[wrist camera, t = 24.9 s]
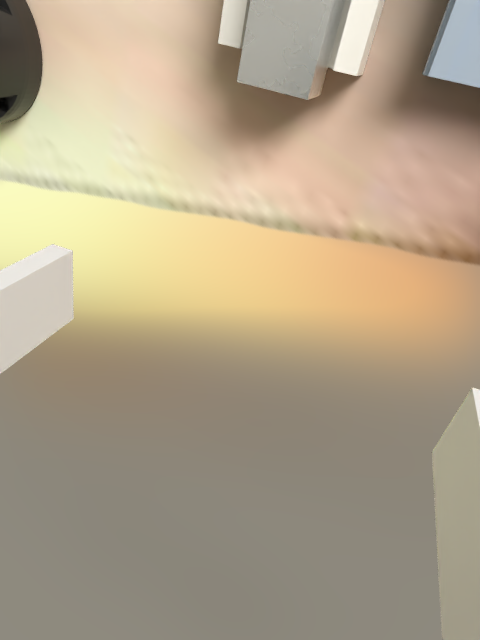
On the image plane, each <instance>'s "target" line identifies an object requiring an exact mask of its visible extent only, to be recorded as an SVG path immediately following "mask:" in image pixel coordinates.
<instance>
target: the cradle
mask: <svg viewBox="0 0 480 640" xmlns="http://www.w3.org/2000/svg"><path fill="white" fill-rule="evenodd" d="M384 2H385V0H345V4H344V8H343V11H342V15H341V19H340V23H339V27H338V30H337V34H336V38H335V42H334V46H333V49H332V53H331V57H330V61H329V65H328V68H332V69H333V71H337V72H341V73H346V74H350V75H354V76H360V75H363V72H364V69H365V66H366V62H367V59H368V56H369V52H370V49H371V46H372V42H373V39H374V36H375V32H376V29H377V26H378V22H379V19H380V16H381V12H382V9H383V6H384ZM249 6H250V0H224V4H223V11H222V18H221V25H220V32H219V39H218V43H219V44H223V45H227V46H232V47H236V48H241V49H242V48H243V42H244V36H245V30H246V24H247V18H248V12H249Z"/></svg>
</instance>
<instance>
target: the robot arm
mask: <svg viewBox="0 0 480 640" xmlns="http://www.w3.org/2000/svg"><path fill="white" fill-rule="evenodd" d="M41 74H42V53H41V45H40V39H39V35H38V31H37V28H36V24H35V21H34V18H33V16H32V13H31V11H30V9H29V7H28V4H27V2H26V1H25V0H0V123H4V122H9V121H13V120H15V119H17V118H19V117H20V116H22V115H23V114H24V113H25V112H26V111H27V110H28V109H29V108H30V106H31V105H32V103H33V102H34V100H35V98H36V95H37V93H38V90H39V86H40V81H41ZM72 319H73V251H72V250H69V249H66V248H63V247H60V246H57V245H54V244H52V245H50V246H48V247H46V248H44V249H42V250H40V251H38V252H36V253H34V254H32V255H30V256H28V257H26V258H24V259H22V260H20V261H18V262H16V263H14V264H12V265H10V266H8V267H6V268H4V269H2V270H0V374H1V373H2V372H3V371H5V370H6V369H7V368H9V367H10V366H11V365H13V364H14V363H15V362H16V361H18V360H19V359H21V358H22V357H23V356H25V355H26V354H27V353H28V352H30V351H31V350H32V349H34V348H35V347H36V346H38V345H39V344H40V343H42V342H43V341H44V340H45V339H47V338H48V337H50V336H51V335H52V334H54V333H55V332H56V331H58V330H59V329H60V328H62V327H63V326H64V325H66V324H67V323H68V322H70V321H71V320H72ZM432 460H433V479H434V498H435V516H436V534H437V553H438V572H439V590H440V609H441V628H442V640H480V390H478V389H475V388H473V387H472V388H471V390H470V392H469V393H468V395H467V397H466V398H465V400H464V401H463V403H462V405H461V406H460V408H459V409H458V411H457V413H456V414H455V416H454V418H453V419H452V421H451V422H450V424H449V425H448V427H447V429H446V430H445V432H444V434H443V435H442V437H441V438H440V440H439V442H438V443H437V445H436V446H435V448H434V450H433V451H432Z"/></svg>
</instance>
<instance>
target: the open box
mask: <svg viewBox="0 0 480 640" xmlns="http://www.w3.org/2000/svg"><path fill="white" fill-rule="evenodd" d="M422 74H423V75H426V76H430V77H434V78H439V79H443V80H448V81H452V82H457V83H461V84H465V85H470V86H474V87H478V88H480V0H449V2H448V4H447V7H446V10H445V13H444V15H443V18H442V21H441V24H440V27H439V29H438V32H437V35H436V38H435V40H434V43H433V46H432V49H431V51H430V54H429V57H428V60H427V62H426V65H425V68H424V71H423V73H422Z"/></svg>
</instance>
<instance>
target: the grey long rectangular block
mask: <svg viewBox="0 0 480 640" xmlns="http://www.w3.org/2000/svg"><path fill="white" fill-rule="evenodd" d="M344 4H345V0H250V6H249V12H248V18H247V24H246V30H245V36H244V42H243V48H242V54H241V59H240V65H239V71H238V77H237V82H239V83H243V84H247V85H251V86H255V87H259V88H263V89H267V90H271V91H275V92H279V93H282V94H286V95H290V96H294V97H298V98H302V99H306V100H309V99H312V98H315V97H318V96H320V95H321V91H322V87H323V84H324V80H325V76H326V72H327V68H328V65H329V61H330V57H331V53H332V49H333V46H334V42H335V38H336V34H337V30H338V27H339V23H340V19H341V15H342V11H343V8H344Z"/></svg>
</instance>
